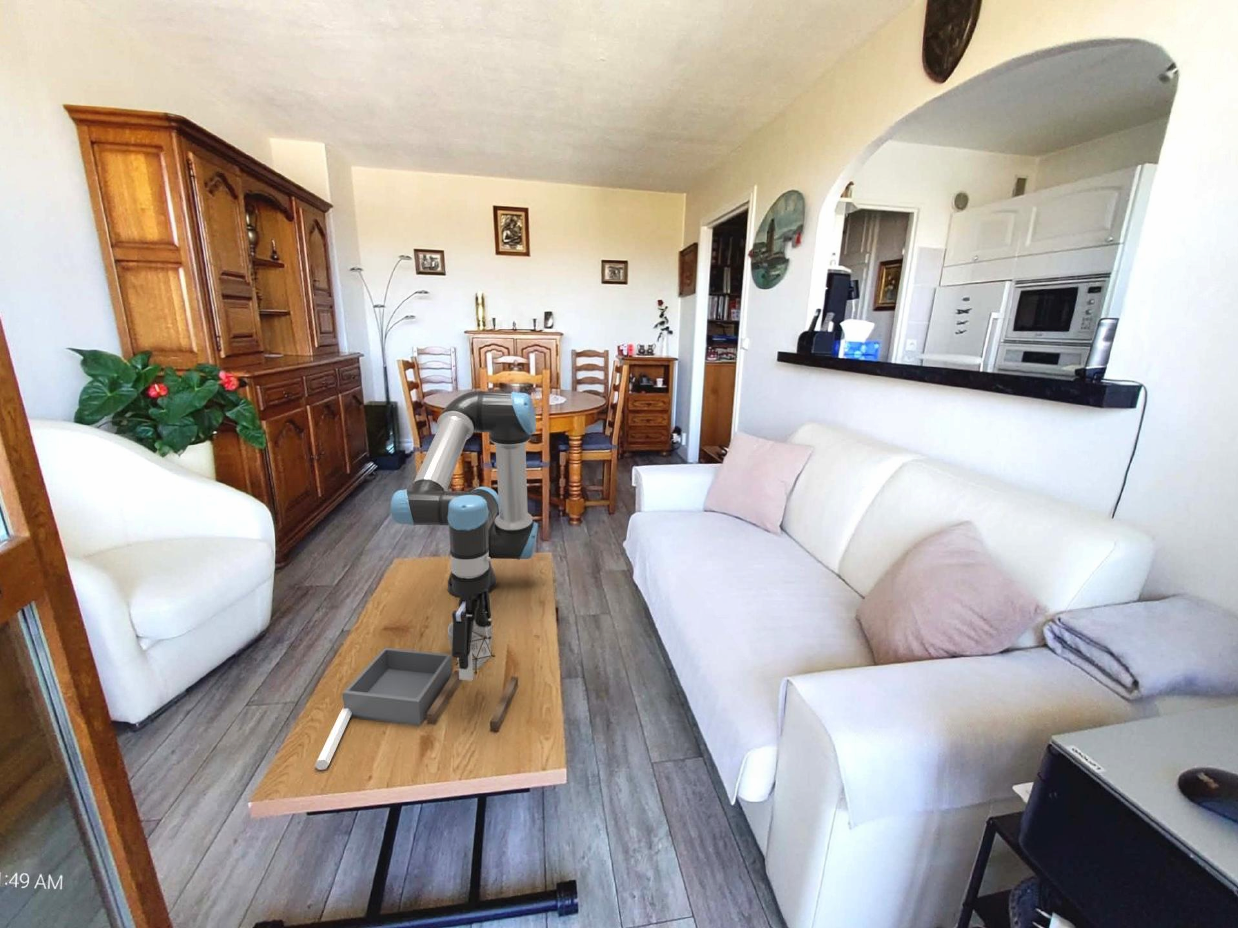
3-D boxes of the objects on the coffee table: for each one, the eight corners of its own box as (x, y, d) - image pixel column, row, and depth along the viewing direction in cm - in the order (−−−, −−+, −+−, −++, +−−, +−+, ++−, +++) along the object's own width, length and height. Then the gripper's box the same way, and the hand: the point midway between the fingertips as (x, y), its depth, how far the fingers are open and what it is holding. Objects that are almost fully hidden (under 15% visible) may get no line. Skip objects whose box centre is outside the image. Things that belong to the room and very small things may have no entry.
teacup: (480, 668, 120) (479, 640, 118) (440, 661, 122) (438, 633, 120) (504, 636, 133) (504, 610, 131) (467, 630, 135) (466, 604, 133)
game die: (470, 676, 108) (465, 629, 112) (504, 668, 107) (498, 621, 110) (446, 682, 100) (441, 631, 103) (483, 673, 99) (477, 623, 102)
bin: (386, 669, 118) (384, 647, 117) (452, 676, 116) (451, 654, 115) (345, 716, 103) (342, 692, 101) (420, 725, 101) (418, 701, 100)
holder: (455, 679, 116) (455, 669, 115) (518, 685, 114) (518, 676, 114) (427, 723, 102) (426, 713, 102) (497, 732, 101) (497, 721, 100)
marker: (352, 709, 106) (324, 771, 90) (342, 706, 105) (313, 768, 90) (358, 700, 105) (331, 760, 90) (348, 696, 105) (319, 756, 90)
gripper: (467, 598, 90) (472, 701, 96) (504, 550, 110) (506, 638, 116) (428, 594, 91) (435, 697, 96) (472, 547, 110) (476, 635, 116)
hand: (474, 665), depth 106 cm, fingers closed on game die, 8 cm apart
